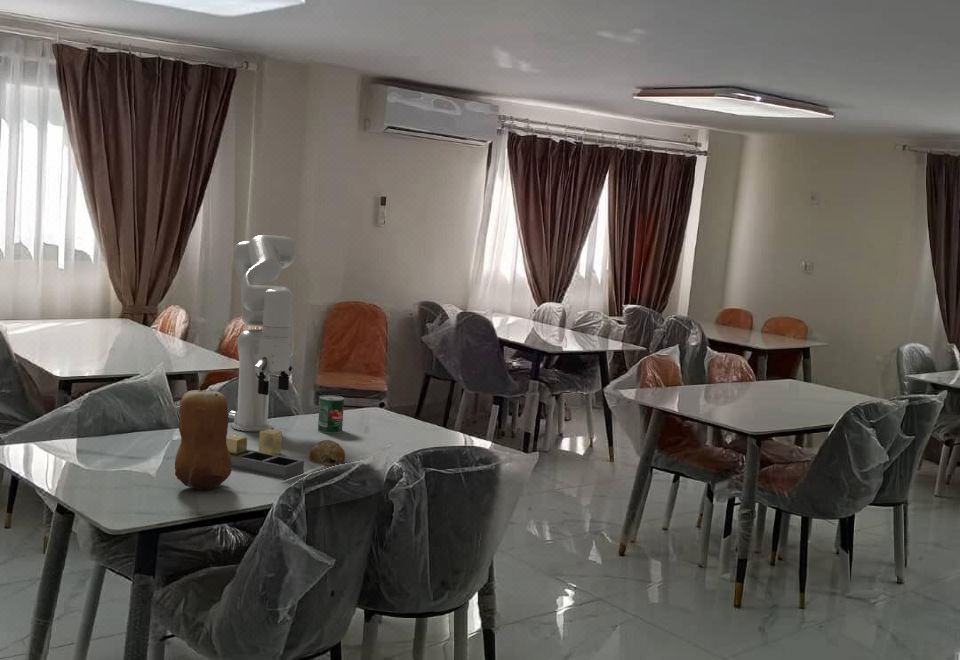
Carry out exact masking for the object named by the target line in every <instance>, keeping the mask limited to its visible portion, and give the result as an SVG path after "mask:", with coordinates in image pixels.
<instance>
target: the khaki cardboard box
mask: <svg viewBox="0 0 960 660" xmlns="http://www.w3.org/2000/svg"><path fill="white" fill-rule="evenodd" d="M226 443H227V448H228V450H229V453H230V455H234V456H239V455H242V454H245V453H246V452H247V449H248V448H247V446H248V436H242V435H236V434H231V435H228V436H227V437H226Z"/></svg>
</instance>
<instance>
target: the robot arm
mask: <svg viewBox="0 0 960 660" xmlns="http://www.w3.org/2000/svg"><path fill="white" fill-rule="evenodd" d="M232 255H233V265H234V269H235V272H236V275H237V277H238V280H239V283H240V299H241V300H240V303H241V319H242V322H243V324H244V325H245V326H249V327H256V328H257V327H258V328H262V329H258V328H257V329H246V330H243V331H241V332H240V333H239V334H238V338H237V351H238V369H239V370H238V372H239V373H238V374H239V375H238V391H237V395H238V396H237V411H235V410H231V411H229V413H228V419H229V418H230V419H234V420H233V422H232V423H231V428H232V427H233V428H232V429H234V430H236V429H237V430H236V431H240V430H241V431H242V432H251V433H254V432H256V433H257V432H258V433H259V432H260V431H264V430H267V429H272V428H273V423H272V422H270V421H268V419H269V399H270V398H269V397H270V395H269V394H270V382H271V381H270V376H271V374H276V373H279V374H280V375H279V374H278V386H277V388H278V390H282V391H288V390H289V389H290V388H289V387H290V385H289V383H290V376H291V373H292V372H291V371H292V370H293V364H294V361H295V360H294V359H292V356H293V355H294V351H295V350H294V349H295V339H294V338H295V337H294V333H295V332H294V314H293V302H294V295H293V293H292V291H291V289H290V288H289V287H287V286H283V285H282V286H280V285H268V284H269V283H271V282H274V281H276V280H277V279H278V278H279V277H280V275H281V273H282V269H286V268H288V267H290V266H292V264H293V263H294V262H295V261H296V258H297V245H296V243H295V241H294V239H293V238H291V237H289V236H287V235H285V236H284V235H283V236H282V235H271V234H269V235H268V234H261V235H256V236H253V237H252V238H251V239H250V240H243V241H240V242H238V243H236V244H235V246H234V247H233V254H232Z"/></svg>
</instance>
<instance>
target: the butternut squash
mask: <svg viewBox="0 0 960 660" xmlns="http://www.w3.org/2000/svg"><path fill="white" fill-rule="evenodd" d="M179 403H180V404H179V421H178V430H179V435H180V444H179V446H178V449H177V452H176V455H175V460H174V470H175V471H174V474H175V476H176V478H177V480H179V481H180V482H181V483H182V484H183V485H184V486H186V487H189V488H191V489H197V488H198V490H200V489H202V490H201V491H205V490H206V491H209V489H210V490H214V489H215V488H217V487H218V486H220V485H221V484H222V483H224V482H225V481H226V480H227V479H228V478H229V477H230V475H231V473H232V467H231V465H232V461H231V456H230V453H229V450H228V448H227V443H226V437H228V436H227V435H228V430H229V417H228V415H229V408H228V402H227V399H226V396H225V395H224V394H223V393H222V392H219V391H214V390H212V391H211V390H209V391H207V390H197V389H194V390H189V391H187V392H185V393H184V394H183V396H182V398H181V401H180V402H179Z"/></svg>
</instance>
